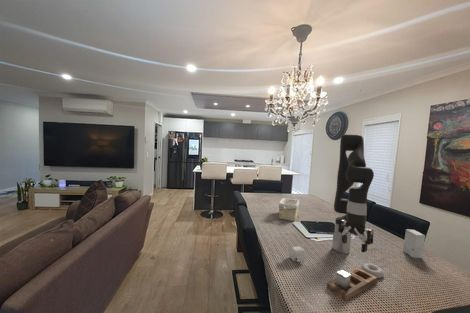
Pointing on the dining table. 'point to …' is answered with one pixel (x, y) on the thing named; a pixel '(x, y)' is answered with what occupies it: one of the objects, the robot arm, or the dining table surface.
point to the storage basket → (288, 209)
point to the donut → (373, 270)
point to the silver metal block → (343, 280)
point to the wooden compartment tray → (353, 284)
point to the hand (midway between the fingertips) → (353, 247)
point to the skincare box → (414, 243)
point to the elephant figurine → (297, 253)
